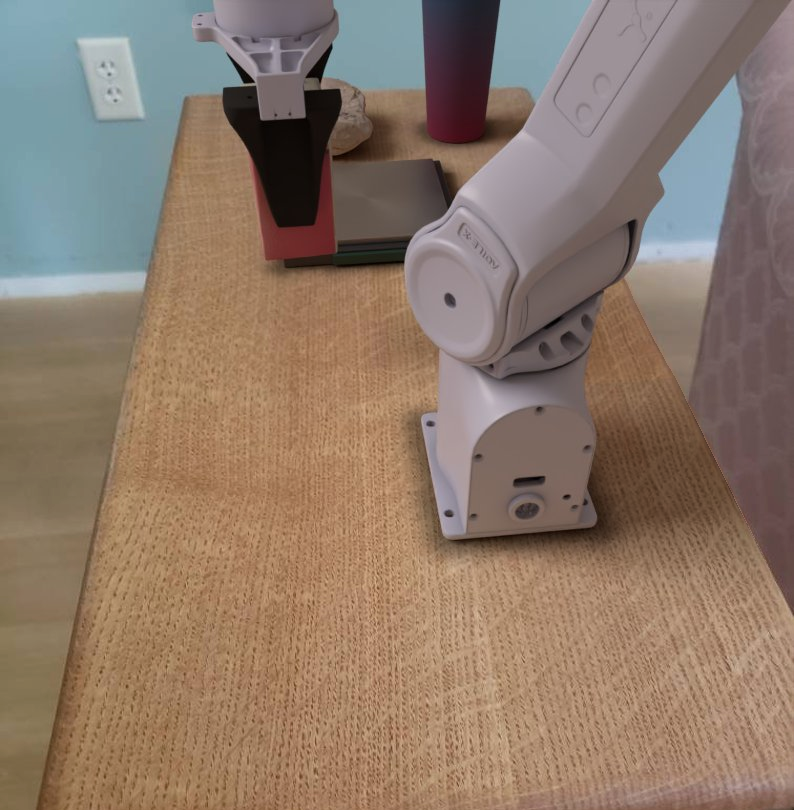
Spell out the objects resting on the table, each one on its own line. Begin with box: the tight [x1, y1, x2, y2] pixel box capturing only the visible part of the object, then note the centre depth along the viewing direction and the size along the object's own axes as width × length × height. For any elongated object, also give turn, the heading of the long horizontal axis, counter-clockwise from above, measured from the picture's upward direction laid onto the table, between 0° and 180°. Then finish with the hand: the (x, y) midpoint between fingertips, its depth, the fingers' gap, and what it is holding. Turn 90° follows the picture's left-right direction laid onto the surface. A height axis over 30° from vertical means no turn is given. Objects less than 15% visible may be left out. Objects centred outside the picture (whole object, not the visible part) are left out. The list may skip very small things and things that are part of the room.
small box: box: [240, 78, 338, 262], centre depth 47 cm, size 5×4×8 cm
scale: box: [282, 158, 453, 268], centre depth 65 cm, size 13×13×2 cm
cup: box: [421, 0, 501, 144], centre depth 70 cm, size 7×7×15 cm
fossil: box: [320, 76, 374, 156], centre depth 73 cm, size 9×6×10 cm
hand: (294, 197), depth 48 cm, fingers closed on small box, 5 cm apart
